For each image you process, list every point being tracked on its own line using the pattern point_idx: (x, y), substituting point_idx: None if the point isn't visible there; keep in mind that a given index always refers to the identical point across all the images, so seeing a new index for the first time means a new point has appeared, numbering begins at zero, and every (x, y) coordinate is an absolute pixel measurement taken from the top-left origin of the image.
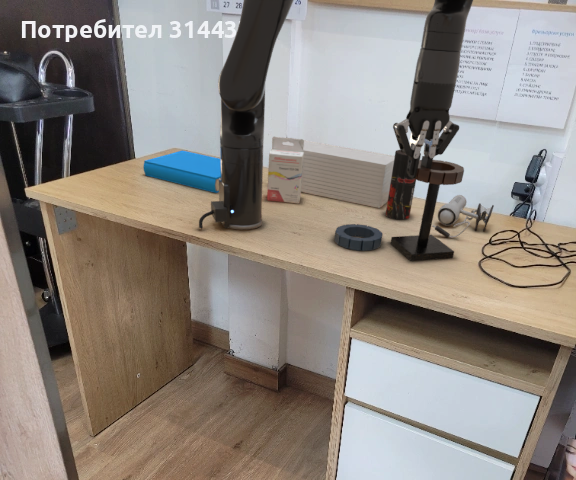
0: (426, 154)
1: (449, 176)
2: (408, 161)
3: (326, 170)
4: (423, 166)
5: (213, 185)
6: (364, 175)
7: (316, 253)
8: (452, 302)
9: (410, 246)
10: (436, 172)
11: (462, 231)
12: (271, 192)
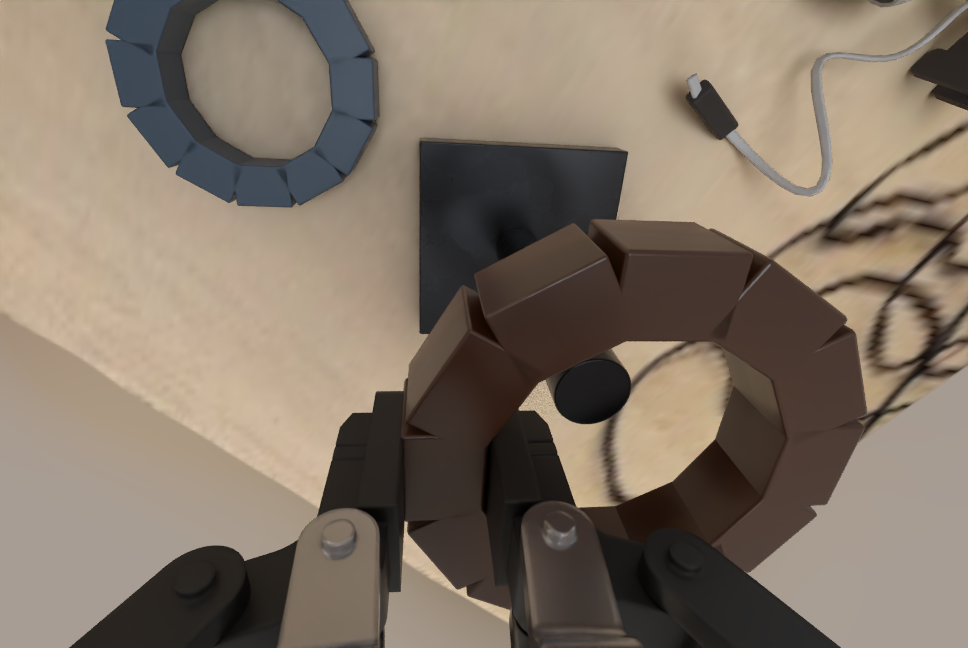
0: (512, 577)
1: None
2: (324, 496)
3: None
4: (489, 480)
5: None
6: None
7: (23, 178)
8: (406, 545)
9: (452, 263)
10: (500, 604)
11: (772, 177)
12: None
